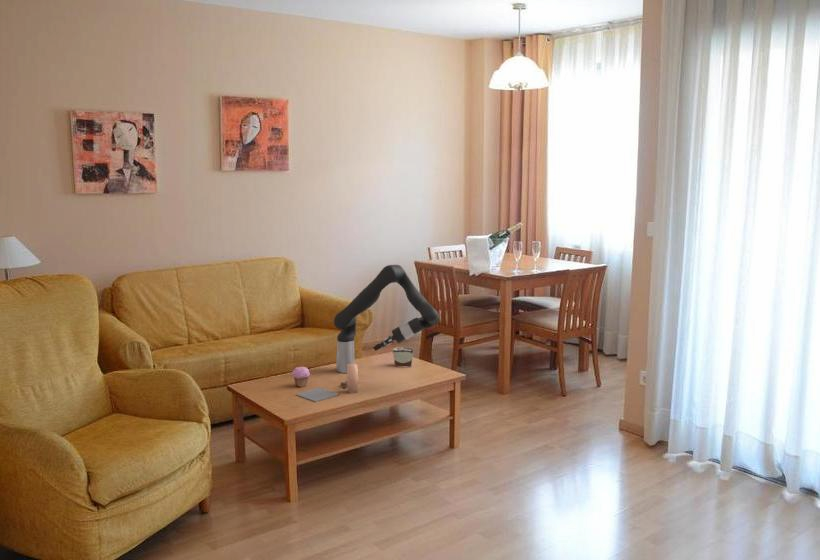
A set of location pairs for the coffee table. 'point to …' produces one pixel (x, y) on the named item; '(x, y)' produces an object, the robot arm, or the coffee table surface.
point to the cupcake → (301, 376)
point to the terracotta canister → (352, 377)
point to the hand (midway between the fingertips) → (375, 348)
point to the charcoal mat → (317, 394)
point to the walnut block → (344, 384)
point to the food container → (403, 356)
